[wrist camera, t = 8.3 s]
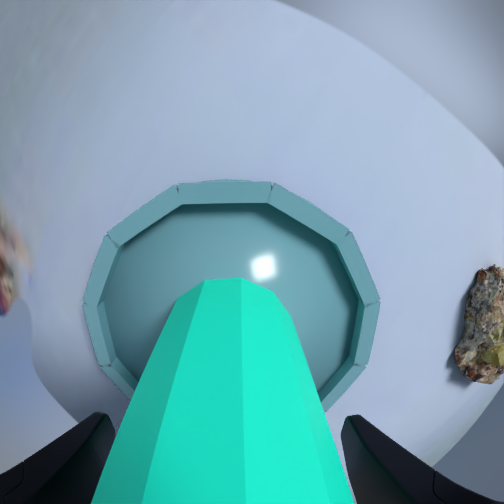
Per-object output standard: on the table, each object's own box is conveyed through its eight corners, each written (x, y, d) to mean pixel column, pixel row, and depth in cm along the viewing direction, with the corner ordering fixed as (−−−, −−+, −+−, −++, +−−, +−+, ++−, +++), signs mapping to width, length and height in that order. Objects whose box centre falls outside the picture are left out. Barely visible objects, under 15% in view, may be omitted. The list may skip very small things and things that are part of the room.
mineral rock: (531, 344, 14) (487, 415, 13) (497, 333, 18) (452, 395, 17) (531, 236, 12) (490, 313, 11) (486, 234, 16) (435, 298, 15)
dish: (341, 408, 16) (350, 429, 14) (130, 409, 16) (121, 429, 14) (374, 183, 13) (394, 185, 11) (87, 188, 12) (65, 191, 10)
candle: (197, 394, 14) (170, 607, 2) (145, 299, 12) (4, 546, 1) (306, 364, 14) (378, 592, 2) (271, 257, 12) (390, 602, 1)
